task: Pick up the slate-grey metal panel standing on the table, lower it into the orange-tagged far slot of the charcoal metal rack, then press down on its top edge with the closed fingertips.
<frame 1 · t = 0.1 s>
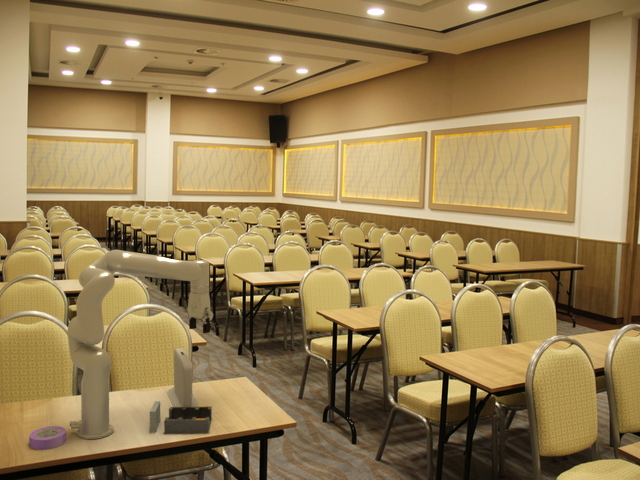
hand: (199, 330, 250), 31 cm above the table, tool pointing down, fingers open, 9 cm apart
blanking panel: (155, 426, 227), on the table
wireless router: (182, 400, 256), on the table
rack: (188, 426, 228), on the table
masking tape: (48, 443, 211), on the table
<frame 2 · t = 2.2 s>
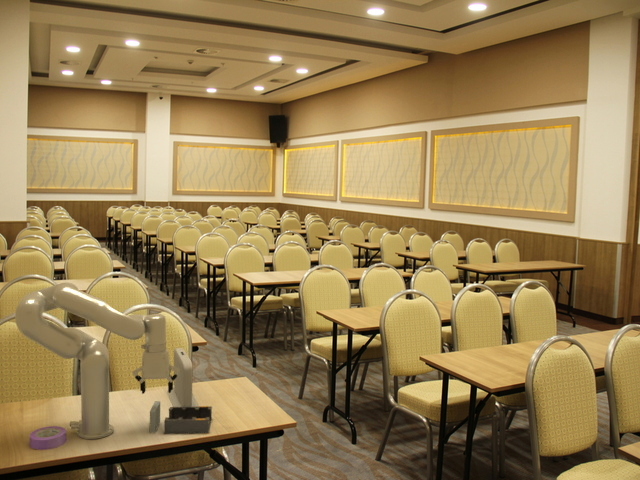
hand: (156, 392, 226), 13 cm above the table, tool pointing down, fingers open, 9 cm apart
nothing on the table moved.
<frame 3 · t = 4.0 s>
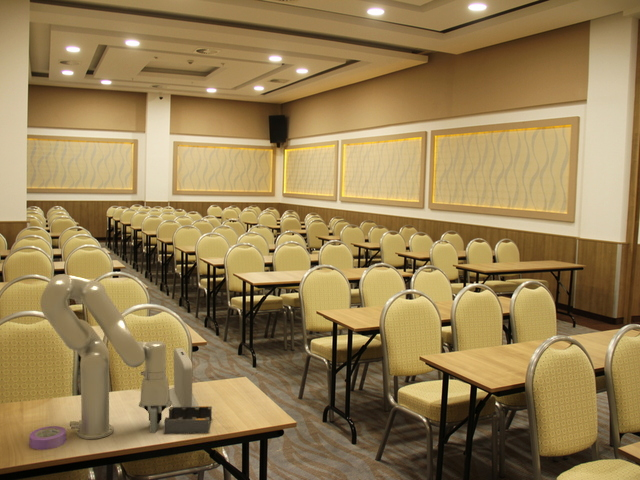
hand: (155, 421, 227), 2 cm above the table, tool pointing down, fingers closed on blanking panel, 1 cm apart
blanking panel: (155, 426, 227), on the table, touching gripper
everything else where it was.
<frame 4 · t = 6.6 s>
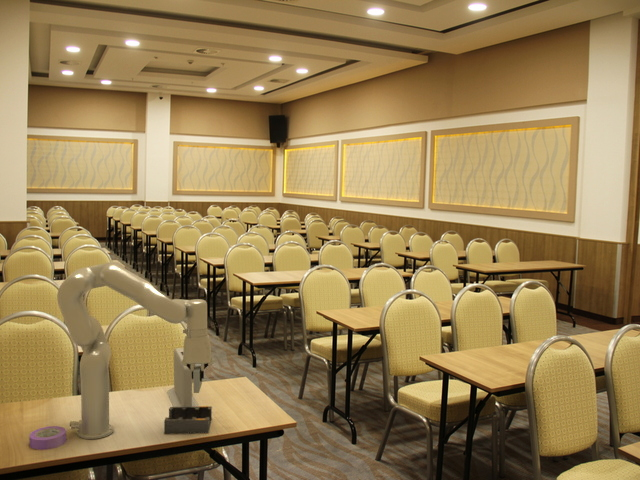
hand: (197, 380, 227), 18 cm above the table, tool pointing down, fingers closed on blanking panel
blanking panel: (197, 388, 227), point 15 cm above the table, touching gripper
everything else where it was.
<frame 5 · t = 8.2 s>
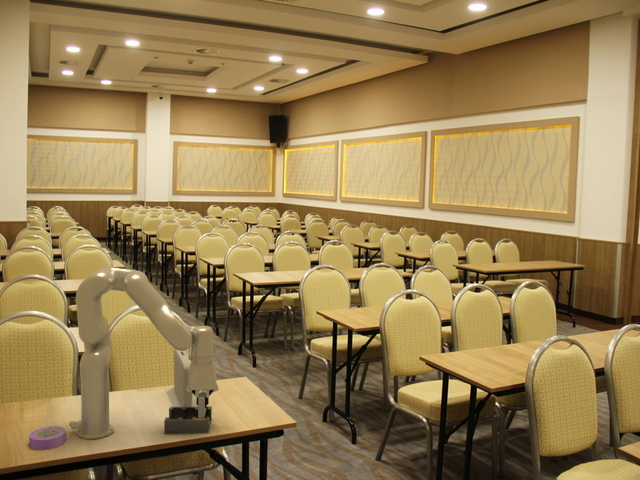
hand: (202, 406, 228), 8 cm above the table, tool pointing down, fingers closed on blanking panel
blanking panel: (202, 414, 228), point 5 cm above the table, touching gripper
everything else where it was.
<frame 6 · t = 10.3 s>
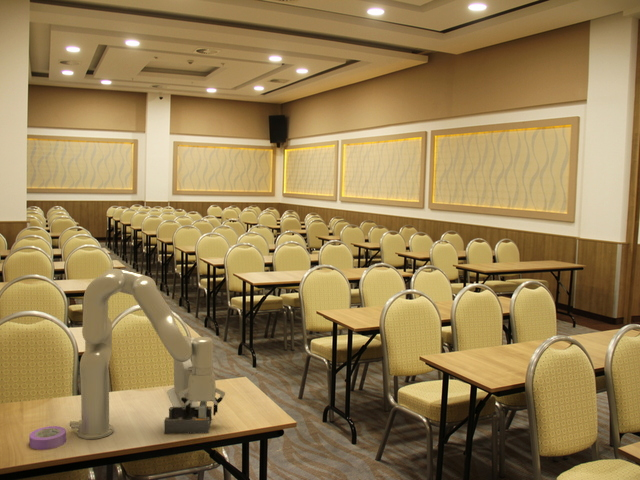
hand: (201, 414, 228), 5 cm above the table, tool pointing down, fingers open, 9 cm apart
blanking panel: (202, 423, 229), point 1 cm above the table, touching rack
everything else where it was.
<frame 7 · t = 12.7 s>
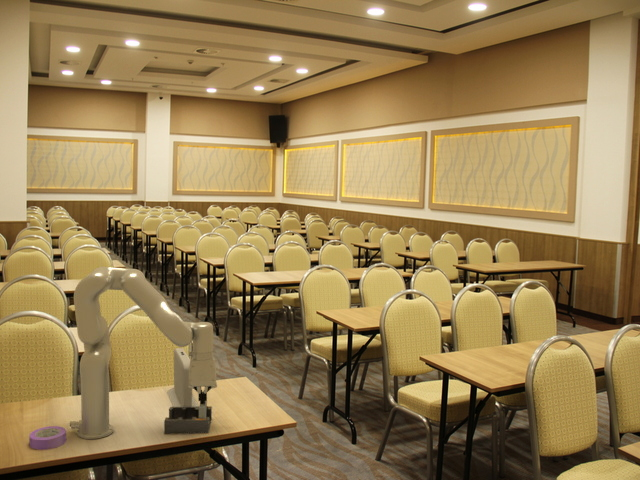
hand: (202, 402, 228), 9 cm above the table, tool pointing down, fingers closed
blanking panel: (202, 423, 229), point 1 cm above the table, touching gripper, rack
everything else where it was.
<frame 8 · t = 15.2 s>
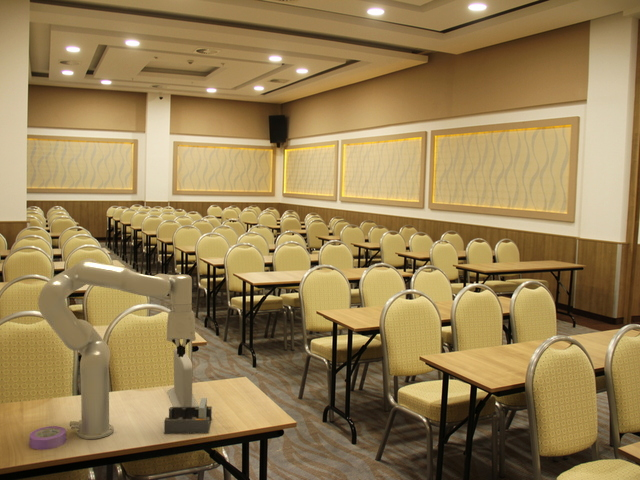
hand: (181, 356, 226), 27 cm above the table, tool pointing down, fingers closed
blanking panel: (202, 423, 229), point 1 cm above the table, touching rack
everything else where it was.
at the end: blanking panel 0.2 cm from the target spot on the rack, point 1.0 cm above the rack's base; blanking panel tilted 0°; the gripper is holding nothing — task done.
